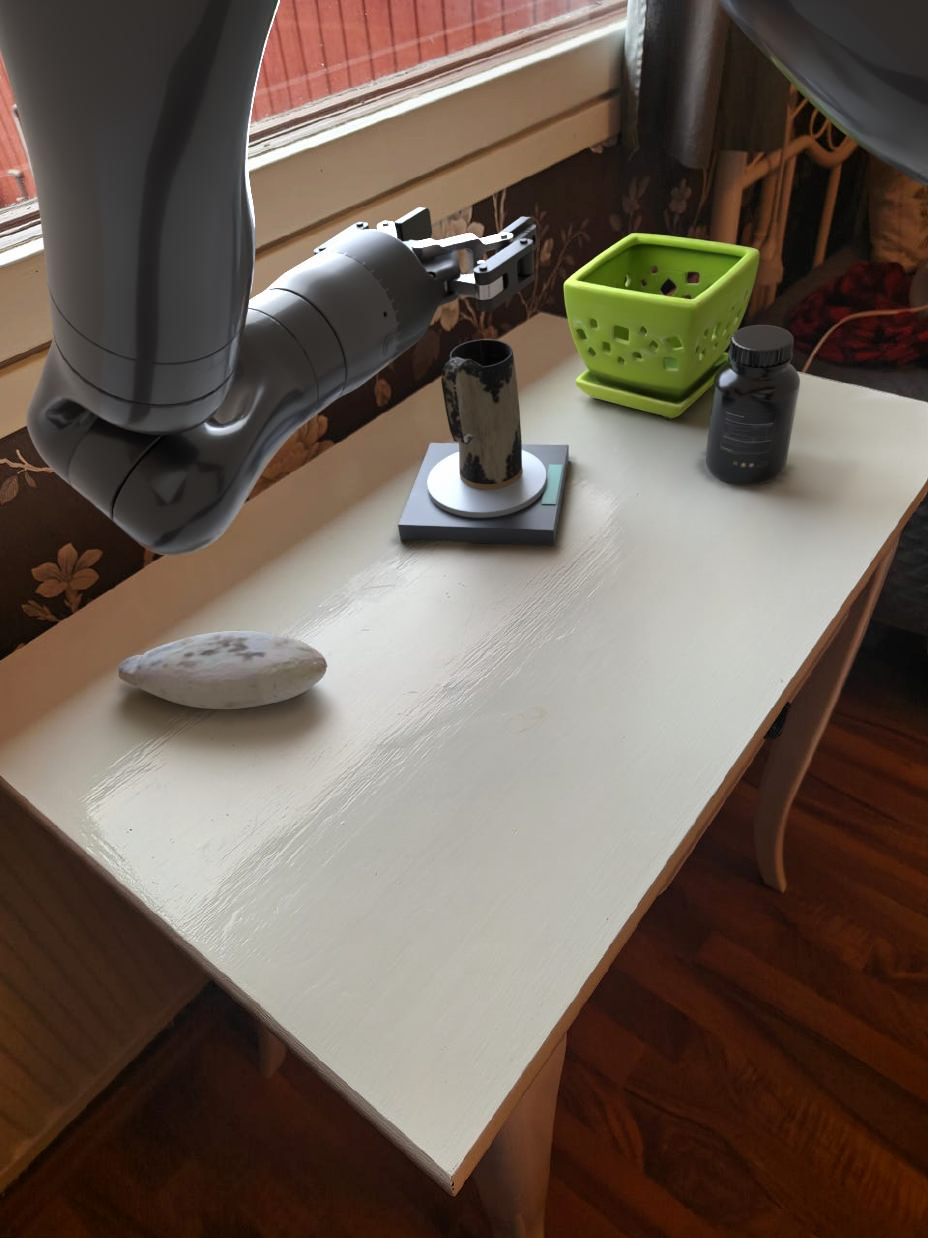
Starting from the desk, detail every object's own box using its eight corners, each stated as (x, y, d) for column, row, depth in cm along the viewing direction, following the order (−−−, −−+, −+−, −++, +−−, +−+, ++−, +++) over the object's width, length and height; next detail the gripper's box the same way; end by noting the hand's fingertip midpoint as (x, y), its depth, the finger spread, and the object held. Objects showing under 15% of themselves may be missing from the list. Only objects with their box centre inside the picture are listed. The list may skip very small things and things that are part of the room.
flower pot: (628, 348, 95) (632, 228, 87) (749, 374, 88) (767, 247, 80) (559, 403, 87) (557, 278, 79) (686, 437, 81) (699, 304, 72)
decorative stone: (140, 656, 65) (124, 623, 63) (341, 652, 63) (332, 618, 61) (111, 718, 61) (92, 684, 58) (325, 715, 59) (315, 681, 57)
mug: (480, 449, 78) (468, 320, 70) (534, 461, 76) (529, 330, 68) (434, 495, 73) (416, 363, 65) (490, 510, 71) (478, 375, 63)
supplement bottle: (709, 442, 80) (723, 316, 72) (787, 449, 78) (810, 319, 70) (699, 483, 75) (713, 353, 67) (782, 491, 73) (807, 358, 65)
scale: (568, 459, 80) (568, 438, 78) (554, 546, 70) (553, 524, 69) (432, 457, 82) (429, 436, 81) (400, 540, 73) (396, 518, 71)
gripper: (435, 266, 47) (565, 175, 56) (238, 242, 53) (387, 163, 62) (450, 393, 52) (567, 289, 61) (269, 358, 58) (402, 268, 67)
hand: (476, 226), depth 62 cm, fingers open, 8 cm apart
